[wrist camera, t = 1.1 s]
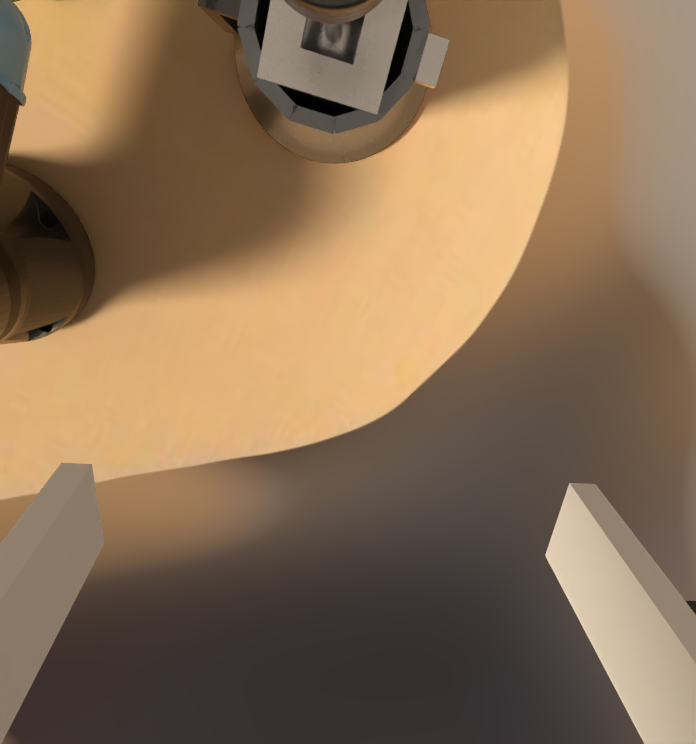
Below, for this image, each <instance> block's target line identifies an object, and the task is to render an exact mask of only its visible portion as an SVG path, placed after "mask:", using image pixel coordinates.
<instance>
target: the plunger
mask: <svg viewBox="0 0 696 744" xmlns="http://www.w3.org/2000/svg"><path fill="white" fill-rule="evenodd" d="M284 1H285V2H286V3H287V4H288V5H289V6H290V7H291V8H293V9H294V10H295V11H296V12H298V13H299V14H301V15H303V16H304V17H306V18H308V19H307V23H306V28H305V33H304V38H303V43H302V49H305V50H308V51H312V52H315V53H318V54H321V55H324V56H327V57H330V58H333V59H336V60H339V61H343V62H346V63H349V64H352V65H353V63H354V59H355V55H356V51H357V47H358V42H359V38H360V34H361V30H362V26H363V22H364V18H365V15H366V14H367V13H369V12H370V11H371V10H373V9H374V8H375V7H376V6H377V5H378V4H379V3H380V2H381V1H382V0H284ZM306 94H307V93H306ZM308 95H310V94H308ZM310 96H312V97H314V98H317V99H319V100H323V101H329V100H326V99H323V98H320V97H317V96H313V95H310ZM329 102H333V101H329Z"/></svg>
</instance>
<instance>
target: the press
mask: <svg viewBox="0 0 696 744" xmlns="http://www.w3.org/2000/svg"><path fill="white" fill-rule="evenodd" d="M198 6H199V7H201V8H202V9H203V10H204V11H205V12H206V13H207V14H208V15H209V16H210V17H211V18H212V19H213V20H214V21H215V22H216V23H218V24H219V25H220V26H221V27H222V28H223V29H224V30H225V31H227V32H230V33H233V34H236V36H235V58H236V66H237V72H238V76H239V81H240V85H241V88H242V90H243V93H244V96H245V98H246V101H247V103H248V105H249V107H250V109H251V111H252V112H253V114H254V115H255V117H256V118H257V120H258V121H259V123H260V124H261V125H262V127H263V128H264V129H265V130H266V131H267V132H268V134H269V135H271V136H272V137H273V138H274V139H275V140H276V141H277V142H278V143H280V144H281V145H282V146H284V147H285V148H287V149H288V150H290V151H291V152H293V153H295V154H297V155H299V156H302V157H304V158H307V159H310V160H313V161H318V162H322V163H348V162H353V161H357V160H361V159H363V158H366V157H369V156H371V155H373V154H375V153H377V152H379V151H381V150H382V149H384V148H385V147H386V146H388V145H389V144H391V143H392V142H393V141H394V140H395V139H396V138H397V137H398V136H399V135H400V134H401V133H402V132H403V131H404V130H405V129H406V127H407V126H408V125H409V124H410V122H411V121H412V119H413V117H414V116H415V114H416V113H417V111H418V109H419V107H420V105H421V103H422V101H423V98H424V95H425V92H426V90H427V87H430V88H435V87H436V85H437V81H438V78H439V75H440V71H441V68H442V65H443V61H444V58H445V55H446V52H447V48H448V45H449V42H450V40H449V39H446V38H443V37H440V36H437V35H434V34H432V32H431V25H430V21H429V16H428V12H427V8H426V1H425V0H382V1H381V2H380V3H379V4H378V5H377V6H376V7H375V8H374V9H373V10H371V11H370V12H369V13H367V14H366V15H365V18H364V22H363V26H362V30H361V34H360V38H359V42H358V47H357V51H356V55H355V59H354V63H353V65H352V64H349V63H346V62H343V61H339V60H336V59H333V58H330V57H327V56H324V55H321V54H318V53H315V52H312V51H308V50H305V49H302V43H303V38H304V33H305V28H306V23H307V19H308V18H306V17H304V16H303V15H301V14H299V13H298V12H296V11H295V10H294V9H293V8H291V7H290V6H289V5H288V4H287V3H286V2H285V1H284V0H199V2H198ZM306 93H307V94H306ZM308 94H310V95H313V96H317V97H320V98H323V99H326V100H329V101H333V102H329V101H323V100H319V99H317V98H314V97H312V96H310V95H308Z"/></svg>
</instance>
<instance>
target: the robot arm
mask: <svg viewBox="0 0 696 744" xmlns="http://www.w3.org/2000/svg"><path fill="white" fill-rule="evenodd" d="M30 51H31V34H30V29H29V26H28V24H27V22H26V20H25V18H24V16H23V14H22V13H21V11H20V10H19V9H18V7H17V6H16V5H15V4H14V3H13V2H12V1H11V0H0V344H9V343H18V342H27V341H32V340H36V339H40V338H42V337H45V336H48V335H50V334H52V333H54V332H55V331H57V330H59V329H60V328H62V327H63V326H64V325H66V324H67V323H69V322H70V321H71V320H73V319H74V318H75V317H76V316H77V315H78V314H79V313H80V312H81V310H82V309H83V308H84V306H85V305H86V303H87V301H88V299H89V297H90V294H91V291H92V287H93V282H94V258H93V253H92V248H91V245H90V242H89V239H88V236H87V234H86V232H85V230H84V228H83V226H82V224H81V222H80V221H79V219H78V217H77V216H76V214H75V213H74V212H73V210H72V209H71V208H70V206H69V205H68V204H67V203H66V202H65V201H64V200H63V199H62V198H61V197H60V196H59V195H58V194H57V193H56V192H55V191H54V190H53V189H52V188H50V187H49V186H48V185H47V184H45V183H44V182H42V181H41V180H39V179H38V178H36V177H34V176H33V175H31V174H29V173H27V172H25V171H23V170H20V169H18V168H15V167H13V166H9V165H6V162H7V157H8V153H9V149H10V144H11V140H12V136H13V131H14V127H15V123H16V119H17V114H18V110H19V106H20V105H21V106H25V103H26V96H25V94H24V92H23V89H24V84H25V78H26V73H27V67H28V62H29V56H30ZM103 544H104V541H103V534H102V527H101V521H100V514H99V509H98V501H97V495H96V488H95V482H94V475H93V469H92V464H73V463H61V464H60V466H59V467H58V468H57V470H56V471H55V472H54V474H53V475H52V476H51V478H50V479H49V480H48V482H47V483H46V484H45V485H44V487H43V488H42V489H41V491H40V492H39V493H38V495H37V496H36V497H35V499H34V500H33V501H32V503H31V504H30V505H29V506H28V508H27V509H26V511H25V512H24V513H23V515H22V516H21V517H20V518H19V520H18V521H17V522H16V524H15V525H14V526H13V528H12V529H11V530H10V532H9V533H8V534H7V536H6V537H5V538H4V539H3V541H2V542H1V543H0V744H1V743H2V741H3V739H4V737H5V735H6V733H7V731H8V729H9V727H10V725H11V724H12V722H13V720H14V718H15V716H16V714H17V712H18V710H19V708H20V706H21V704H22V702H23V700H24V698H25V696H26V694H27V692H28V691H29V689H30V687H31V685H32V683H33V681H34V679H35V677H36V675H37V673H38V671H39V669H40V667H41V665H42V663H43V661H44V659H45V657H46V655H47V654H48V652H49V650H50V648H51V646H52V644H53V642H54V640H55V638H56V636H57V634H58V632H59V630H60V628H61V626H62V624H63V622H64V620H65V618H66V616H67V615H68V613H69V611H70V609H71V607H72V605H73V603H74V601H75V599H76V597H77V595H78V593H79V591H80V589H81V587H82V585H83V583H84V581H85V579H86V578H87V576H88V574H89V572H90V570H91V568H92V566H93V564H94V562H95V560H96V558H97V556H98V554H99V552H100V550H101V548H102V546H103ZM545 556H546V558H547V560H548V562H549V563H550V565H551V567H552V569H553V571H554V573H555V575H556V577H557V579H558V581H559V583H560V584H561V586H562V588H563V590H564V592H565V594H566V596H567V598H568V600H569V602H570V603H571V605H572V607H573V609H574V611H575V613H576V615H577V617H578V619H579V621H580V622H581V624H582V626H583V628H584V630H585V632H586V634H587V636H588V638H589V640H590V641H591V643H592V645H593V647H594V649H595V651H596V653H597V655H598V657H599V659H600V660H601V662H602V664H603V666H604V668H605V670H606V672H607V673H608V676H609V678H610V679H611V681H612V683H613V685H614V687H615V689H616V691H617V693H618V695H619V696H620V698H621V700H622V702H623V704H624V706H625V708H626V710H627V712H628V714H629V716H630V717H631V719H632V721H633V723H634V725H635V727H636V729H637V731H638V732H639V735H640V736H641V738H642V740H643V742H644V744H696V601H685V600H684V599H683V598H682V596H681V595H680V594H679V593H678V591H677V590H676V589H675V587H674V586H673V585H672V583H671V582H670V581H669V579H668V578H667V577H666V575H665V574H664V573H663V572H662V570H661V569H660V568H659V567H658V565H657V564H656V563H655V561H654V560H653V559H652V557H651V556H650V555H649V553H648V552H647V551H646V549H645V548H644V547H643V546H642V544H641V543H640V542H639V540H638V539H637V538H636V537H635V535H634V534H633V533H632V531H631V530H630V529H629V527H628V526H627V525H626V524H625V522H624V521H623V520H622V518H621V517H620V516H619V514H618V513H617V512H616V511H615V509H614V508H613V507H612V505H611V504H610V503H609V501H608V500H607V499H606V498H605V496H604V495H603V494H602V493H601V491H600V490H599V488H598V487H597V486H596V485H595V484H578V483H576V484H575V483H569V486H568V489H567V493H566V495H565V499H564V501H563V504H562V508H561V511H560V513H559V516H558V519H557V522H556V526H555V528H554V532H553V534H552V537H551V540H550V543H549V546H548V549H547V552H546V555H545Z"/></svg>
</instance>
